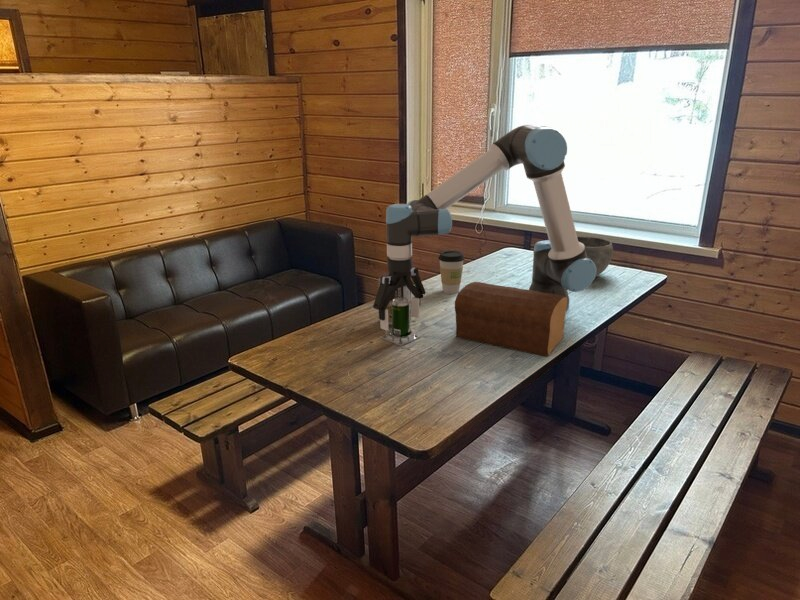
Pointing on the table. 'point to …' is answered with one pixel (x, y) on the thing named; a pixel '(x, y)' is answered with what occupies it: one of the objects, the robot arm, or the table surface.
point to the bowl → (598, 251)
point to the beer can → (400, 317)
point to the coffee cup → (451, 270)
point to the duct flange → (400, 340)
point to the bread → (510, 317)
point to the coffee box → (400, 292)
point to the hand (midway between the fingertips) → (400, 323)
